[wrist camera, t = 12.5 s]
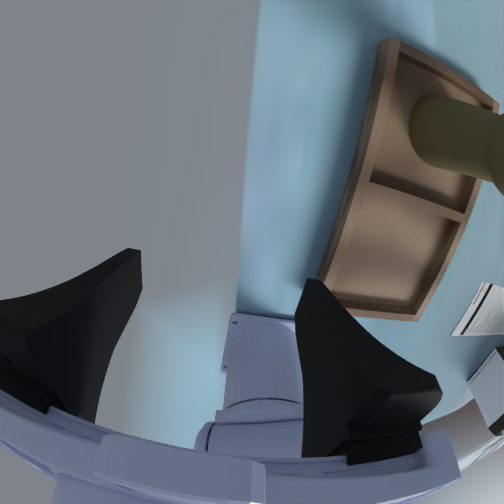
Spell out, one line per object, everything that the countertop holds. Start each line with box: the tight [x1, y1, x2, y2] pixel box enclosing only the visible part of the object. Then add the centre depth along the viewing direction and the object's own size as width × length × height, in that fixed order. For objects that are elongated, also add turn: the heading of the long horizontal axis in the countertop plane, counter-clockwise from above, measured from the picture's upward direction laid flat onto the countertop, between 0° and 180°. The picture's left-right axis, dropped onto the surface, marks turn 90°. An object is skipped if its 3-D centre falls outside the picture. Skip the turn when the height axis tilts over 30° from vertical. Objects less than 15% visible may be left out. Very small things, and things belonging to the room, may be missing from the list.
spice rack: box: [316, 37, 499, 322], centre depth 19 cm, size 22×12×2 cm, turn 170°
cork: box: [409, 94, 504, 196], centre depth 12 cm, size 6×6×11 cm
